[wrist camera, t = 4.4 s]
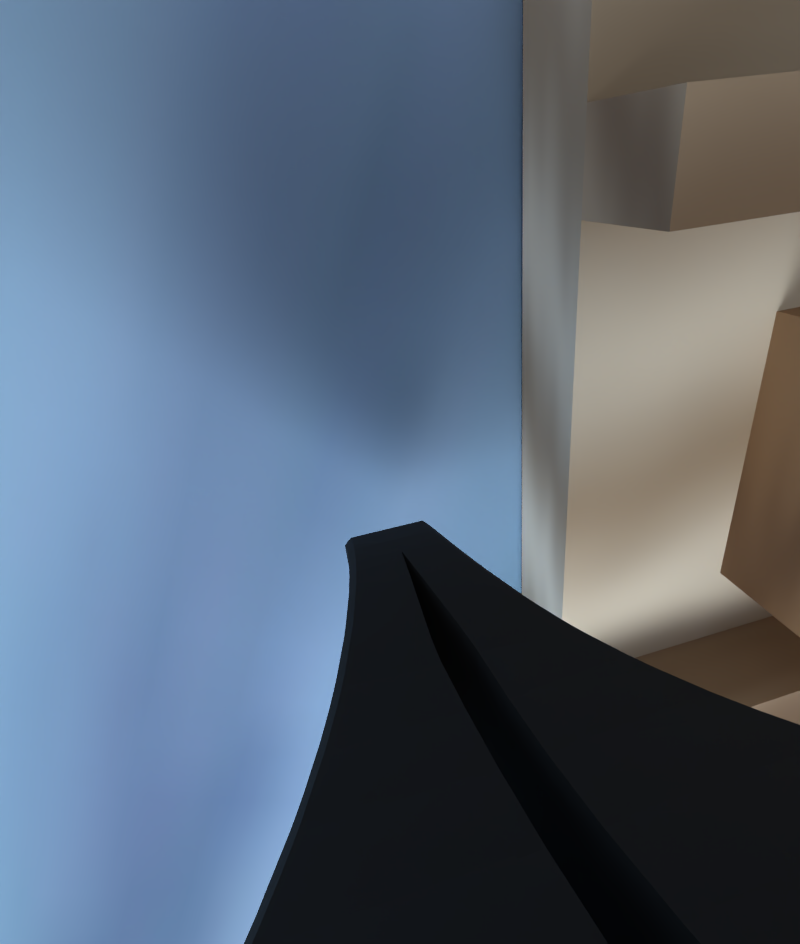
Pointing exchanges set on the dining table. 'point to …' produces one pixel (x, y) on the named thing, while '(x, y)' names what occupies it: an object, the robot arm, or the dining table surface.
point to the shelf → (655, 320)
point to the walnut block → (771, 486)
